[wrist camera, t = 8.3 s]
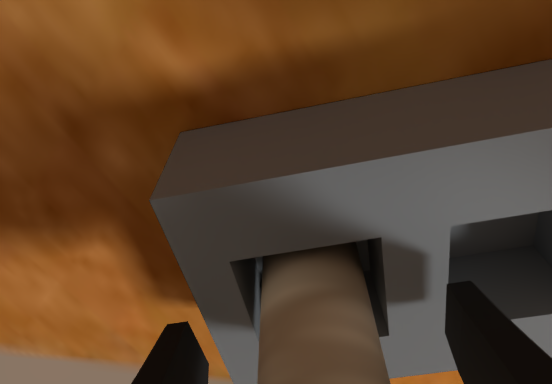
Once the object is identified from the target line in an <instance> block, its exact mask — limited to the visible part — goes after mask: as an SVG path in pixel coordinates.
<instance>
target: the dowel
mask: <svg viewBox="0 0 552 384" xmlns="http://www.w3.org/2000/svg"><path fill="white" fill-rule="evenodd" d="M257 384H390V380H389V376H388V372H387V368H386V364H385V360H384V355H383V351H382V347H381V343H380V339H379V335H378V331H377V327H376V323H375V319H374V315H373V310H372V306H371V302H370V298H369V294H368V290H367V286H366V282H365V278H364V274H363V269H362V265H361V261H360V257H359V253H358V249H357V245H356V241H355V242H349V243H343V244H336V245H330V246H324V247H318V248H311V249H305V250H299V251H293V252H286V253H280V254H274V255H268V256H263V268H262V290H261V312H260V335H259V357H258V379H257Z"/></svg>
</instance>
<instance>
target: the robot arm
mask: <svg viewBox="0 0 552 384" xmlns="http://www.w3.org/2000/svg"><path fill="white" fill-rule="evenodd" d="M445 335H446V338H447V341H448V344H449V347H450V350H451V352H452V355H453V358H454V361H455V364H456V366H457V369H458V372H459V374H460V376H461V378H462V380H463V382H464V384H552V358H551V357H550V356H549V355H548V354H547V353H546V352H545V351H544V350H542V349H541V348H540V347H539V346H538V345H537V344H536V343H535V342H534V341H533V340H531V339H530V338H529V337H528V336H527V335H526V334H525V333H524V332H523V331H522V330H521V329H520V328H519V327H517V326H516V325H515V324H514V323H513V322H512V321H511V320H510V319H509V318H508V317H507V316H506V315H505V314H504V313H503V312H502V311H501V310H500V309H499V308H498V307H497V306H496V305H495V304H494V303H493V302H492V301H491V300H490V299H489V298H488V297H487V296H486V295H485V294H484V293H483V292H482V291H481V290H480V289H479V287H478V286H477V285H476V284H475V283H473V282H472V281H463V282H456V283H449V284H447V288H446V313H445ZM208 371H209V363H208V361H207V359H206V357H205V355H204V353H203V351H202V349H201V347H200V345H199V343H198V341H197V339H196V337H195V335H194V333H193V331H192V329H191V327H190V325H189V323H188V321H187V322H180V323H173V324H167V326H166V327H165V328H164V330H163V332H162V333H161V335H160V337H159V338H158V340H157V342H156V344H155V345H154V347H153V349H152V350H151V352H150V354H149V355H148V357H147V359H146V360H145V362H144V364H143V365H142V367H141V369H140V370H139V372H138V374H137V376H136V377H135V379H134V380H133V382H132V383H131V384H208Z"/></svg>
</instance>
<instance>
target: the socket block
mask: <svg viewBox="0 0 552 384" xmlns="http://www.w3.org/2000/svg"><path fill="white" fill-rule="evenodd" d="M149 201H150V203H151V205H152V208H153V210H154V212H155V214H156V216H157V218H158V221H159V223H160V225H161V227H162V229H163V231H164V234H165V236H166V238H167V240H168V242H169V244H170V247H171V249H172V251H173V253H174V255H175V257H176V260H177V262H178V264H179V266H180V268H181V270H182V273H183V275H184V277H185V279H186V281H187V283H188V286H189V288H190V290H191V292H192V294H193V296H194V299H195V301H196V303H197V305H198V307H199V309H200V312H201V314H202V316H203V318H204V320H205V322H206V325H207V327H208V329H209V331H210V333H211V335H212V338H213V340H214V342H215V344H216V346H217V348H218V351H219V353H220V355H221V357H222V359H223V361H224V364H225V366H226V368H227V370H228V372H229V374H230V377H231V379H232V381H233V383H234V384H257V379H258V357H259V335H260V312H261V290H262V268H263V256H268V255H274V254H280V253H286V252H293V251H299V250H305V249H311V248H318V247H324V246H330V245H336V244H343V243H349V242H355V241H356V245H357V249H358V253H359V257H360V261H361V265H362V269H363V274H364V278H365V282H366V286H367V290H368V294H369V298H370V302H371V306H372V310H373V315H374V319H375V323H376V327H377V331H378V335H379V339H380V343H381V347H382V351H383V355H384V360H385V364H386V368H387V372H388V376H389V378H397V377H406V376H414V375H422V374H430V373H438V372H446V371H455V370H458V369H457V366H456V364H455V361H454V358H453V355H452V352H451V350H450V347H449V344H448V341H447V338H446V335H445V313H446V288H447V284H449V283H456V282H463V281H472V282H473V283H475V284H476V285H477V286H478V287H479V289H480V290H481V291H482V292H483V293H484V294H485V295H486V296H487V297H488V298H489V299H490V300H491V301H492V302H493V303H494V304H495V305H496V306H497V307H498V308H499V309H500V310H501V311H502V312H503V313H504V314H505V315H506V316H507V317H508V318H509V319H510V320H511V321H512V322H513V323H514V324H515V325H516V326H517V327H519V328H520V329H521V330H522V331H523V332H524V333H525V334H526V335H527V336H528V337H529V338H530V339H531V340H533V341H534V342H535V343H536V344H537V345H538V346H539V347H540V348H541V349H542V350H544V351H545V352H546V353H547V354H548V355H549V356H550V357H551V358H552V59H550V60H545V61H540V62H535V63H530V64H525V65H520V66H515V67H510V68H505V69H500V70H494V71H489V72H484V73H479V74H474V75H469V76H464V77H459V78H454V79H449V80H444V81H439V82H434V83H429V84H424V85H418V86H413V87H408V88H403V89H398V90H393V91H388V92H383V93H378V94H373V95H368V96H363V97H358V98H353V99H348V100H343V101H337V102H332V103H327V104H322V105H317V106H312V107H307V108H302V109H297V110H292V111H287V112H282V113H277V114H272V115H267V116H261V117H256V118H251V119H246V120H241V121H236V122H231V123H226V124H221V125H216V126H211V127H206V128H201V129H196V130H191V131H185V132H180V134H179V136H178V139H177V141H176V143H175V145H174V147H173V150H172V152H171V154H170V156H169V158H168V160H167V163H166V165H165V167H164V169H163V171H162V174H161V176H160V178H159V180H158V182H157V185H156V187H155V189H154V191H153V193H152V195H151V198H150V200H149Z"/></svg>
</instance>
